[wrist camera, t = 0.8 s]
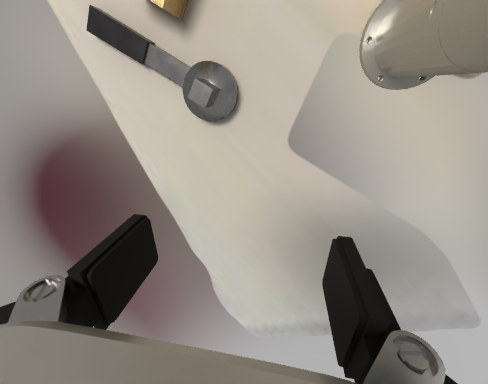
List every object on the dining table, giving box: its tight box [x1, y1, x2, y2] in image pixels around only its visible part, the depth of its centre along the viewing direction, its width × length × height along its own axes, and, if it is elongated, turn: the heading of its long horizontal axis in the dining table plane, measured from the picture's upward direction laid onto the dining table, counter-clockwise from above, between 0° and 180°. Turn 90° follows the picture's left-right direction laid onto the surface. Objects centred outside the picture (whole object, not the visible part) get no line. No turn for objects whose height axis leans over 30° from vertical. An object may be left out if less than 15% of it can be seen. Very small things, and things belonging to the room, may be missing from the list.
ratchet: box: [87, 5, 238, 121], centre depth 34 cm, size 9×26×6 cm, turn 61°
